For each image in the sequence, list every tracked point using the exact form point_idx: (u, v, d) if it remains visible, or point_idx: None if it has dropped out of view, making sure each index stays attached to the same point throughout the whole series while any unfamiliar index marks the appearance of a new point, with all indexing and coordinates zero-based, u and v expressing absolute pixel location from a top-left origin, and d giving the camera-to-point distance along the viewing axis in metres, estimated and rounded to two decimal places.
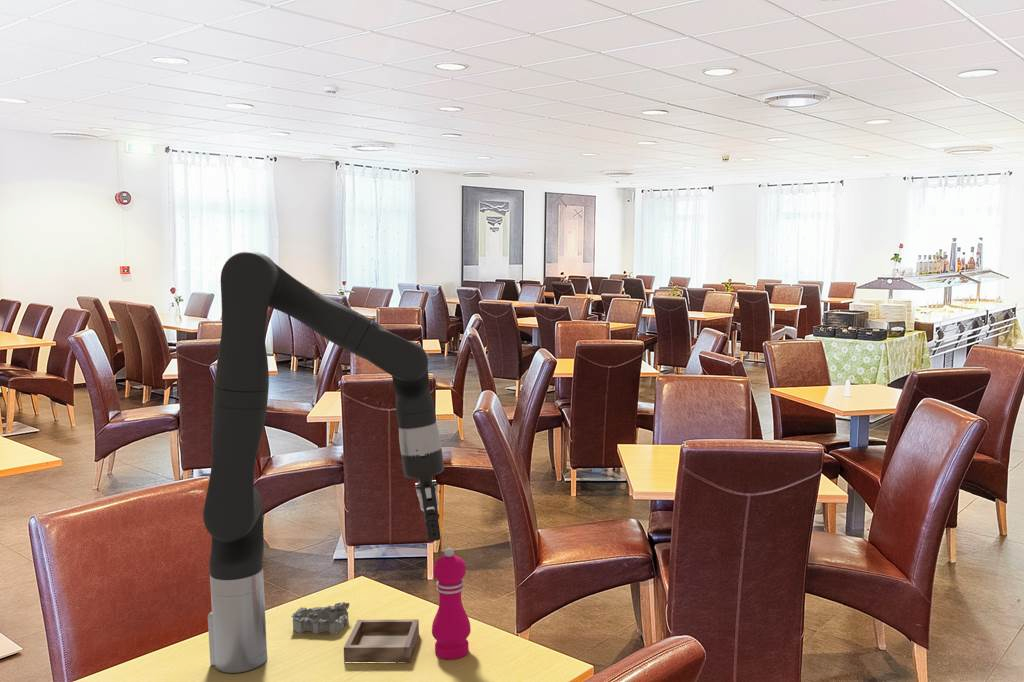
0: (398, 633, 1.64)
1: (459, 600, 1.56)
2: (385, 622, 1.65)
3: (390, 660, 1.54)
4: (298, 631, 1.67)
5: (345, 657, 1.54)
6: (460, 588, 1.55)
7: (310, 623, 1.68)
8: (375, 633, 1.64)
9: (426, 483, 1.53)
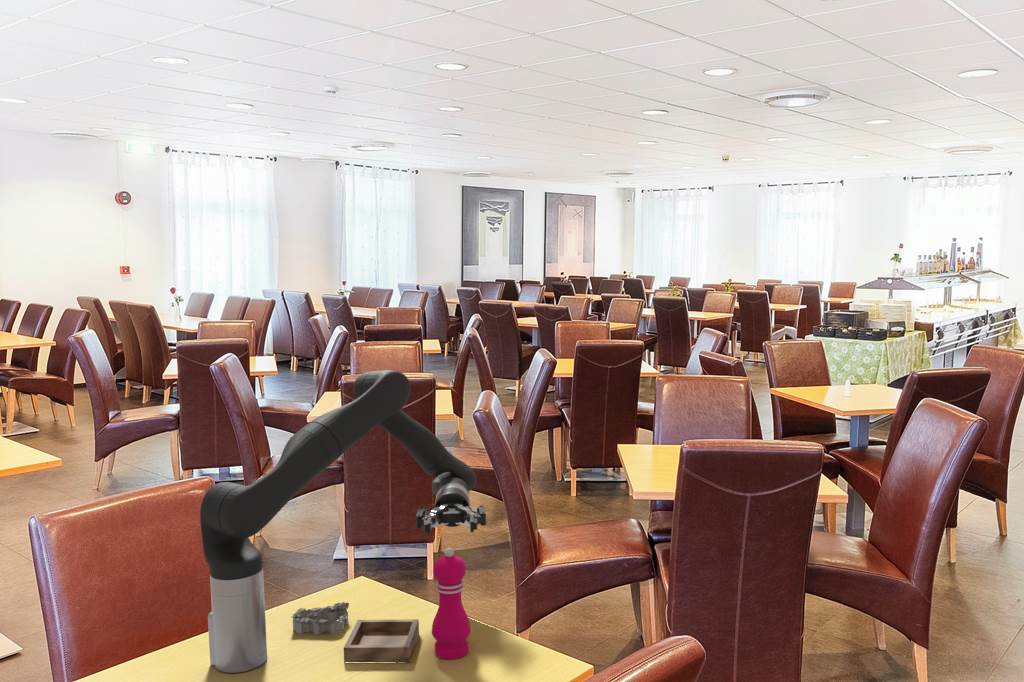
0: (398, 633, 1.64)
1: (459, 600, 1.56)
2: (385, 622, 1.65)
3: (390, 660, 1.54)
4: (298, 632, 1.67)
5: (345, 657, 1.54)
6: (460, 588, 1.55)
7: (310, 623, 1.68)
8: (375, 633, 1.64)
9: None
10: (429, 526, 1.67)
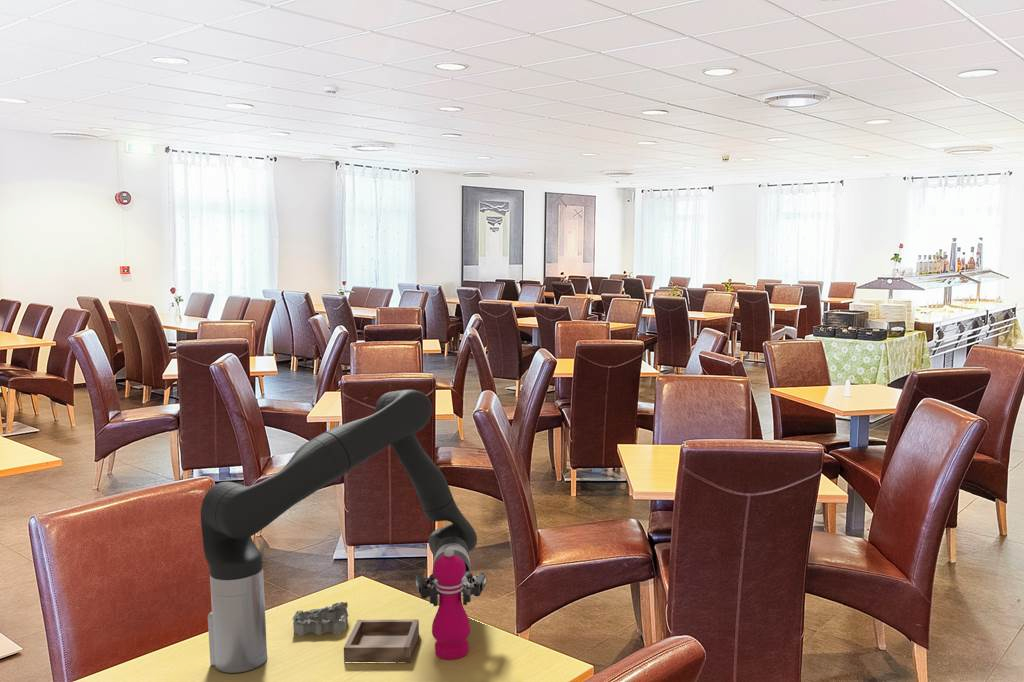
0: (398, 633, 1.64)
1: (459, 600, 1.56)
2: (385, 622, 1.65)
3: (390, 660, 1.54)
4: (300, 634, 1.66)
5: (345, 657, 1.54)
6: (460, 588, 1.55)
7: (312, 624, 1.67)
8: (375, 633, 1.64)
9: None
10: (435, 598, 1.54)
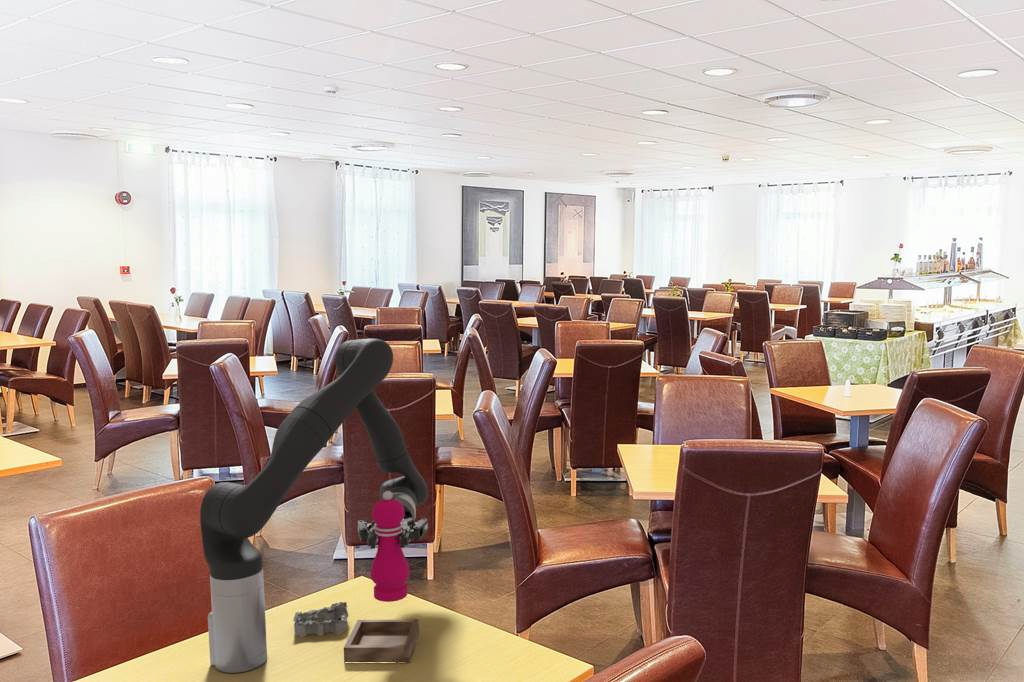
0: (398, 633, 1.64)
1: (397, 543, 1.56)
2: (385, 622, 1.65)
3: (390, 660, 1.54)
4: (302, 635, 1.66)
5: (345, 657, 1.54)
6: (398, 531, 1.56)
7: (313, 625, 1.67)
8: (375, 633, 1.64)
9: None
10: (373, 540, 1.54)
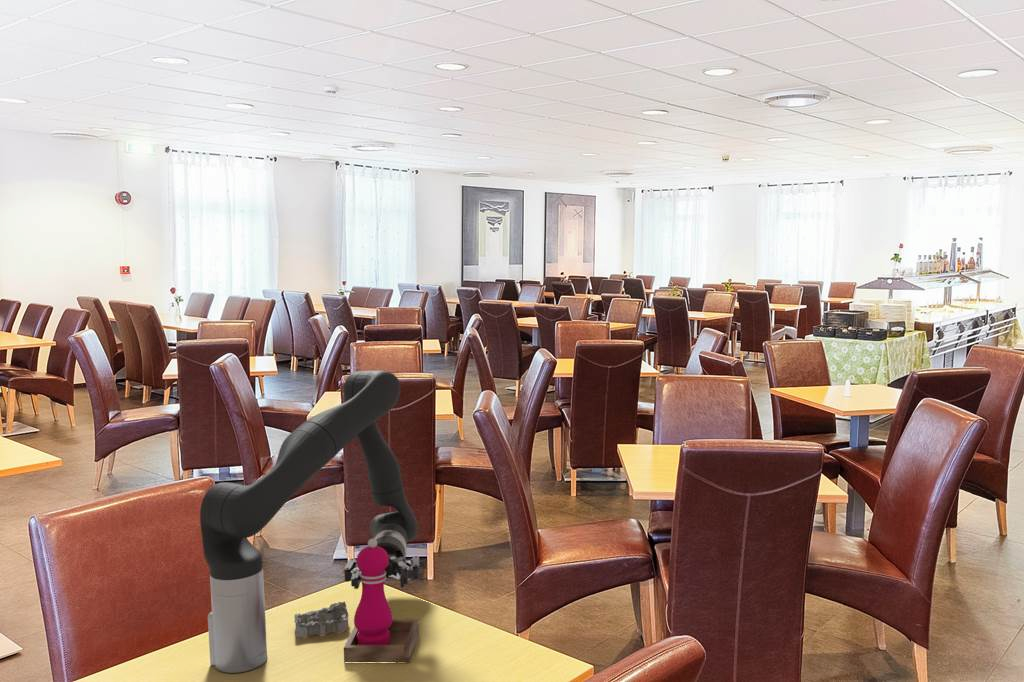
0: (398, 633, 1.64)
1: (381, 591, 1.58)
2: None
3: (390, 660, 1.54)
4: (304, 636, 1.65)
5: (345, 657, 1.54)
6: (382, 579, 1.58)
7: (315, 626, 1.67)
8: None
9: None
10: (356, 581, 1.57)
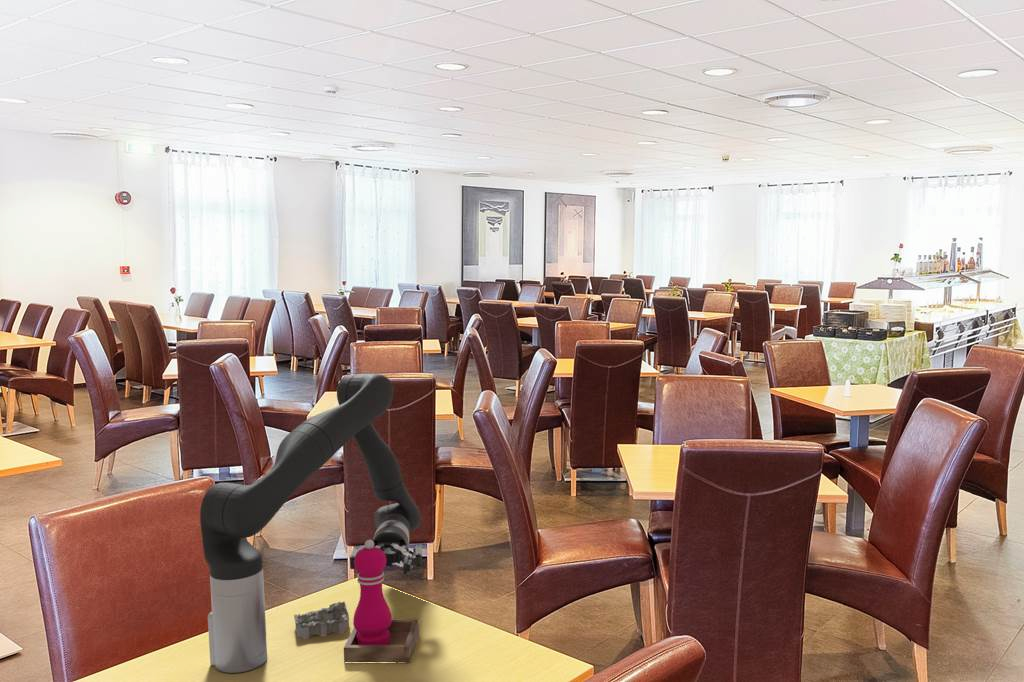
0: (398, 633, 1.64)
1: (379, 591, 1.58)
2: None
3: (390, 660, 1.54)
4: (305, 637, 1.65)
5: (345, 657, 1.54)
6: (380, 579, 1.58)
7: (316, 626, 1.66)
8: None
9: None
10: None
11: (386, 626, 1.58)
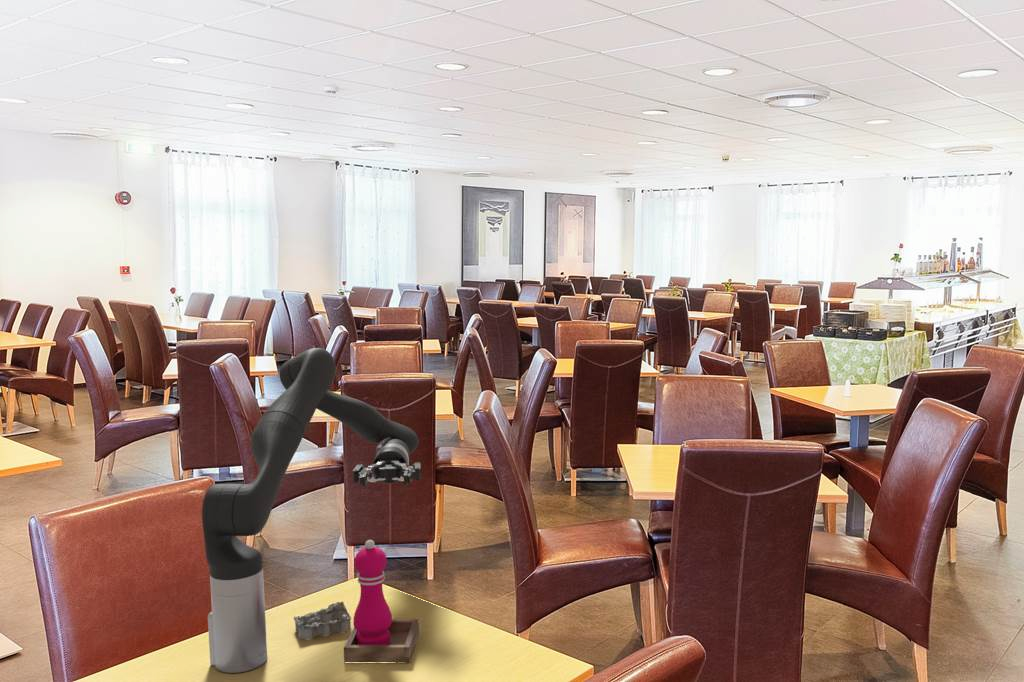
0: (398, 633, 1.64)
1: (380, 591, 1.58)
2: None
3: (390, 660, 1.54)
4: (309, 638, 1.64)
5: (345, 657, 1.54)
6: (380, 579, 1.58)
7: (318, 627, 1.66)
8: None
9: None
10: (364, 479, 1.73)
11: (386, 626, 1.58)
